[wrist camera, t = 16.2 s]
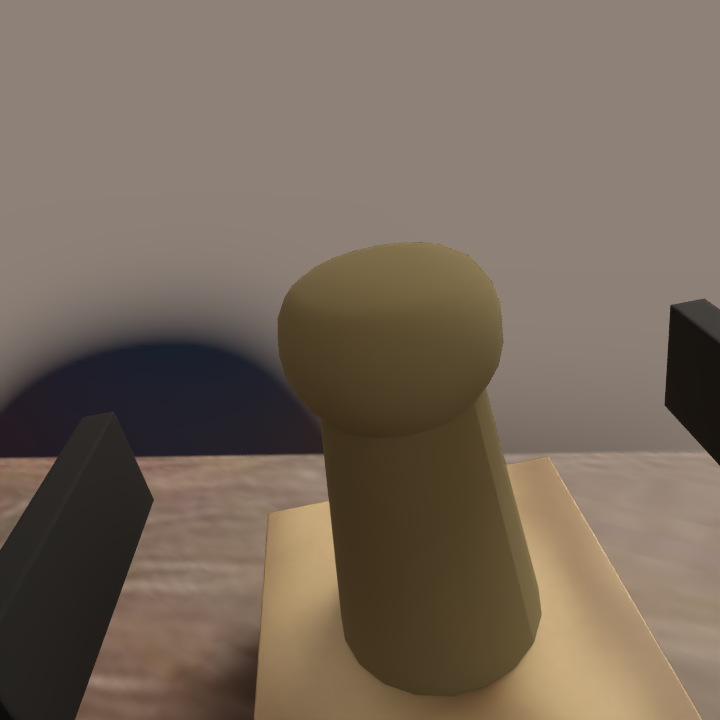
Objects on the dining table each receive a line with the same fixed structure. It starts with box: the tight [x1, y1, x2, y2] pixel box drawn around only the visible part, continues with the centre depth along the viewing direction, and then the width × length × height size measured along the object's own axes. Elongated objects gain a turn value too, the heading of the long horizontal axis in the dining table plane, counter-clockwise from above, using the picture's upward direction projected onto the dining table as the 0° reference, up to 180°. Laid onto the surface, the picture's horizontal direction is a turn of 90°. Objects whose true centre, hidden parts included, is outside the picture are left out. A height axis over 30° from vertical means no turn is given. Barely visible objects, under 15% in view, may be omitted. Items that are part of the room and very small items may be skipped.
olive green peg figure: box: [278, 242, 542, 696], centre depth 16 cm, size 6×6×11 cm
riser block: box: [254, 457, 703, 720], centre depth 20 cm, size 11×11×5 cm
